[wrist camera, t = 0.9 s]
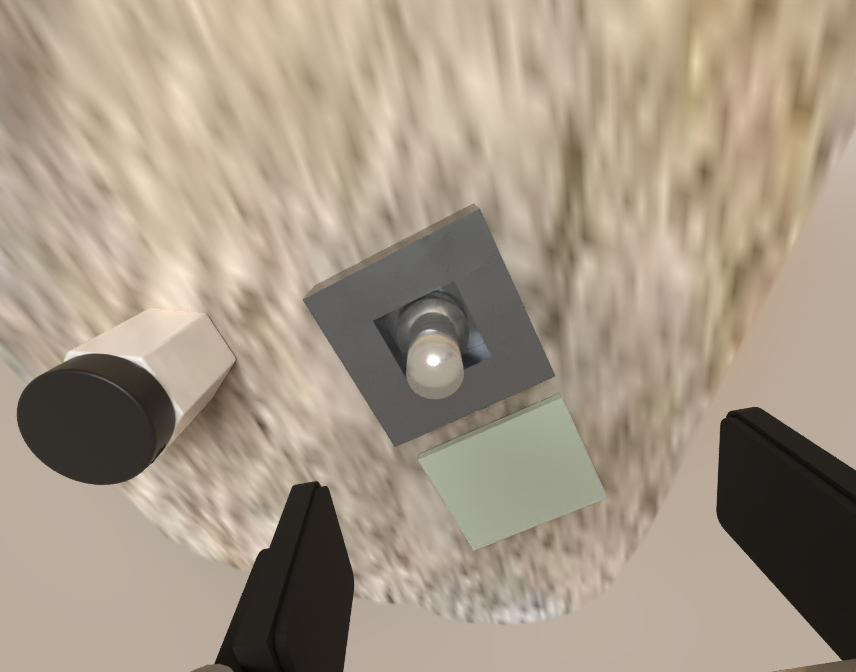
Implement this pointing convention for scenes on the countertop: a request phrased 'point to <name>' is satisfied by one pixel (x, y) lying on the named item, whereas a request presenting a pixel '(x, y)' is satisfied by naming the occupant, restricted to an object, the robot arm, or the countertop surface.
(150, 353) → the jar
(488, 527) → the mat
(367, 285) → the housing
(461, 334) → the grey rounded knob
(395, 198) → the countertop surface
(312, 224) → the countertop surface
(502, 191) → the countertop surface
